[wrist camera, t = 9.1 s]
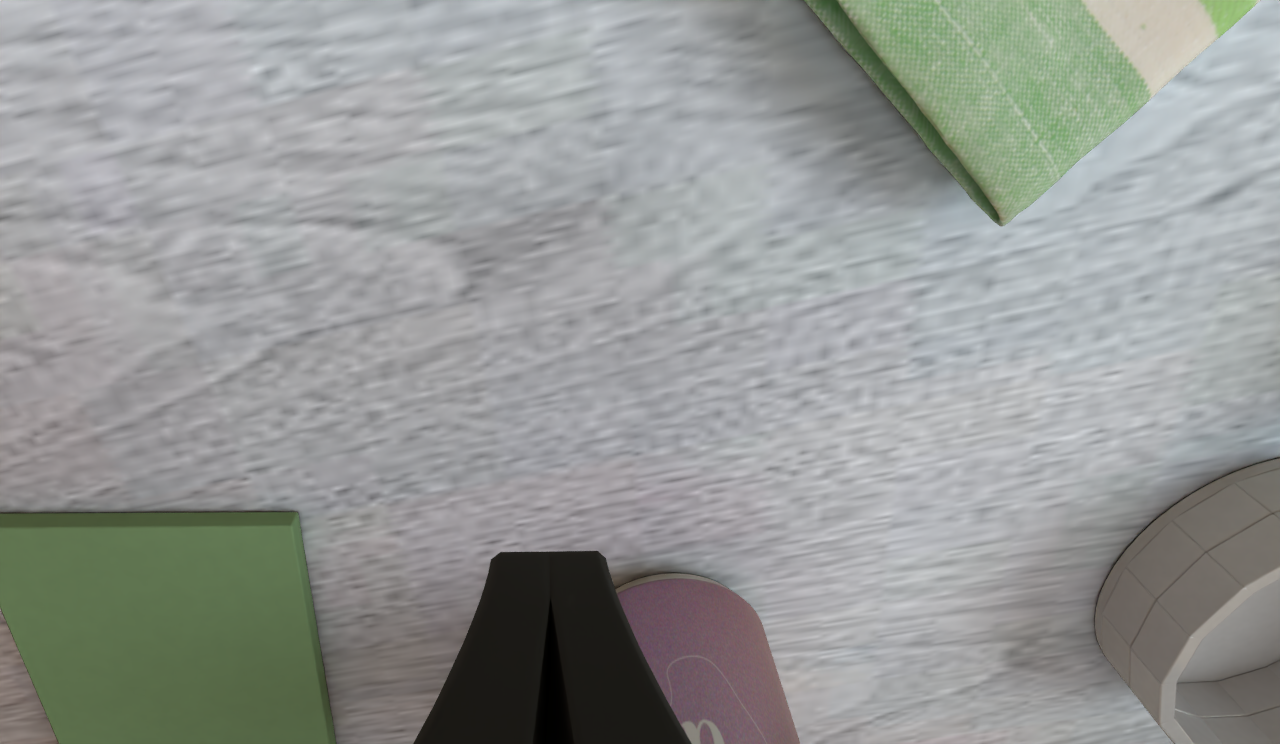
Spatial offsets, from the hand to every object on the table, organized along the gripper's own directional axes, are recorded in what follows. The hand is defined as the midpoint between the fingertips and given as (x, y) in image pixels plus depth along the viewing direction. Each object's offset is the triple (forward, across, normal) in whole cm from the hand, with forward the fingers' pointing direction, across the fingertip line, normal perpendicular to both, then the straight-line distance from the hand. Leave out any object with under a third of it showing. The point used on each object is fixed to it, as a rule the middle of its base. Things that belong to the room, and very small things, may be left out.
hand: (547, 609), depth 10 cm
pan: (+9, -23, +9) cm, 26 cm away
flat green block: (+9, +10, +11) cm, 18 cm away
